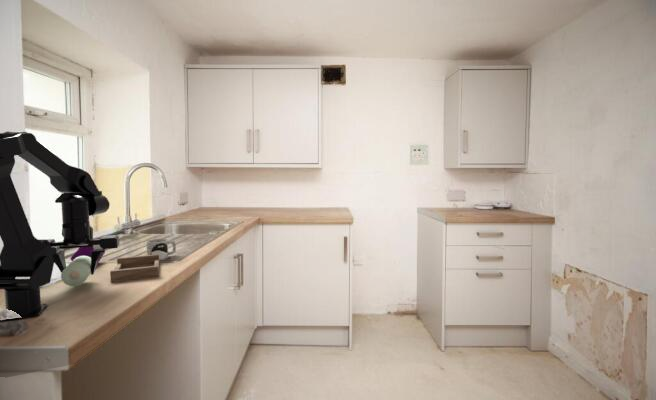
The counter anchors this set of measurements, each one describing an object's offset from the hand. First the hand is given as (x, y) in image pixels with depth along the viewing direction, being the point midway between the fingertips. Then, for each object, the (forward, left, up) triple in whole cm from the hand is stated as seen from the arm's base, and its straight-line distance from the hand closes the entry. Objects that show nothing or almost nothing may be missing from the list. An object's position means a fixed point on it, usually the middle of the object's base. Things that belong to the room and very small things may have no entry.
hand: (79, 275), depth 91 cm
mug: (+24, -20, -3) cm, 31 cm away
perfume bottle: (+24, +2, -3) cm, 24 cm away
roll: (0, 0, -1) cm, 1 cm away
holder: (+9, -13, -3) cm, 16 cm away
